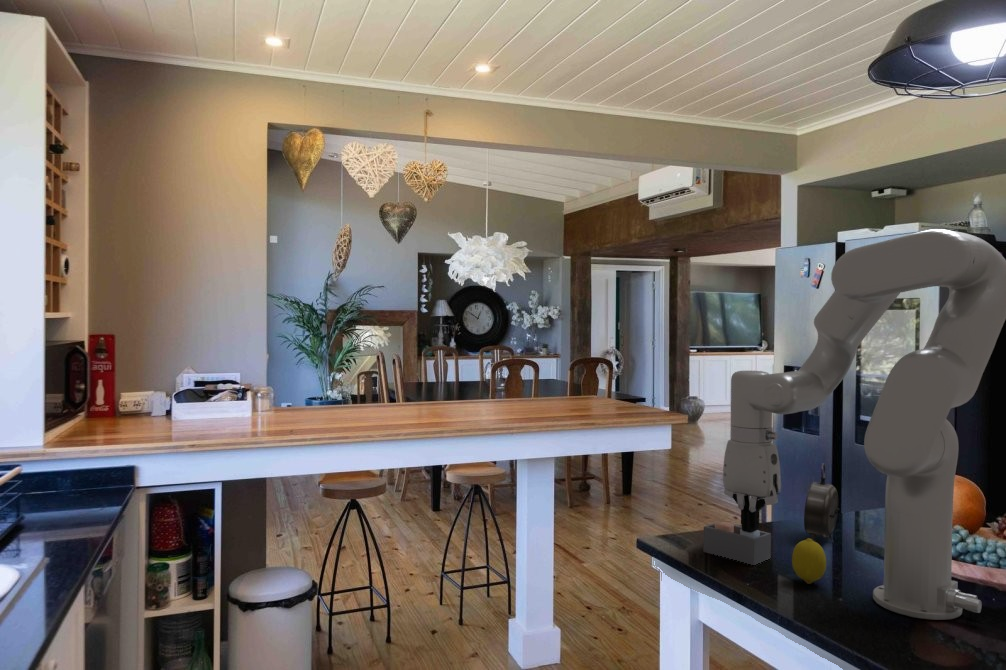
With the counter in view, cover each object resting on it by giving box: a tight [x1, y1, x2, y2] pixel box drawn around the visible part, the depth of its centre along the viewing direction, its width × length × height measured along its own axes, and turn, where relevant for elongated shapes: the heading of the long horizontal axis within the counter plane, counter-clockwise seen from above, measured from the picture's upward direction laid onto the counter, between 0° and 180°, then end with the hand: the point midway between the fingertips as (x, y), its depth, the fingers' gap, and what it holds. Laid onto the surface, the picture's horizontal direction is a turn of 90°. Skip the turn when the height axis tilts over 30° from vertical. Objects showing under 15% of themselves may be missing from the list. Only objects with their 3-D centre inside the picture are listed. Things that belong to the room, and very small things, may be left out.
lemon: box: [791, 537, 827, 585], centre depth 128 cm, size 6×6×8 cm
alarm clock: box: [803, 462, 840, 543], centre depth 152 cm, size 11×5×16 cm, turn 144°
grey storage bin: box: [703, 520, 772, 566], centre depth 143 cm, size 11×6×5 cm, turn 41°
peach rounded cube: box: [715, 521, 735, 533], centre depth 145 cm, size 4×4×4 cm
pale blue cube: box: [740, 529, 761, 538], centre depth 141 cm, size 4×4×4 cm
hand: (749, 530), depth 141 cm, fingers closed
